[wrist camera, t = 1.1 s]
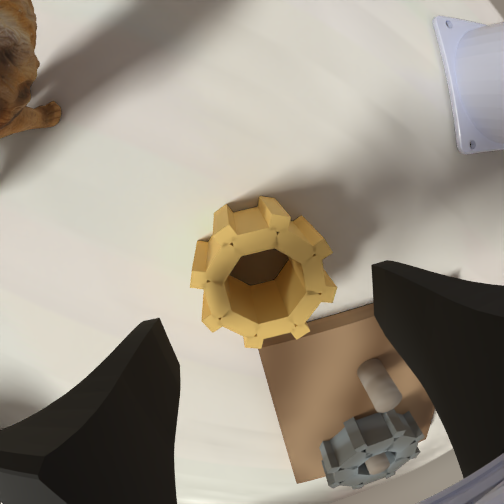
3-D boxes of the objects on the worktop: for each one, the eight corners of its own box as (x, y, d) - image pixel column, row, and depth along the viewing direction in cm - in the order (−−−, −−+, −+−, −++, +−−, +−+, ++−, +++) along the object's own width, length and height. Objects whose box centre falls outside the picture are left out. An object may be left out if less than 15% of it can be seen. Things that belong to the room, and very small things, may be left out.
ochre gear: (302, 186, 15) (325, 201, 11) (319, 290, 17) (341, 327, 13) (183, 214, 15) (174, 238, 11) (215, 316, 17) (215, 358, 13)
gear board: (444, 278, 17) (486, 311, 13) (420, 430, 23) (439, 462, 19) (255, 335, 17) (265, 388, 13) (294, 473, 23) (303, 511, 19)
